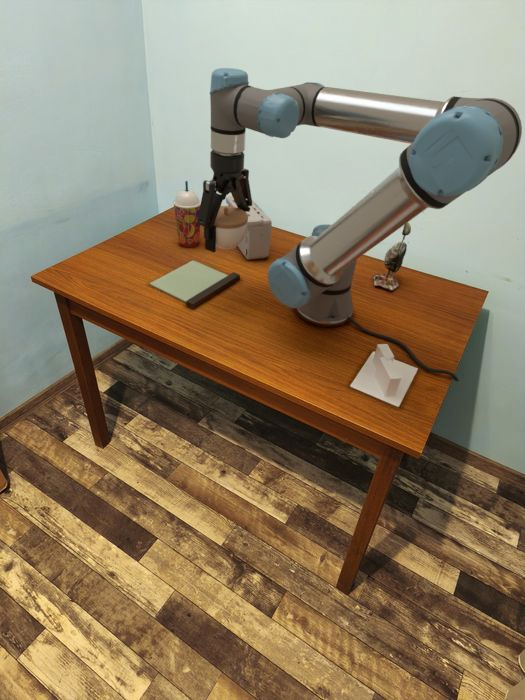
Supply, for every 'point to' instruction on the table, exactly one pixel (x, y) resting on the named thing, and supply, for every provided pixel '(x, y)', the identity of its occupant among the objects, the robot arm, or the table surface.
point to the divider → (212, 290)
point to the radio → (255, 232)
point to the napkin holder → (384, 376)
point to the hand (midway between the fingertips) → (225, 242)
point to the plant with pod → (393, 262)
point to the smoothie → (187, 217)
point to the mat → (188, 280)
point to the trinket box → (230, 227)
